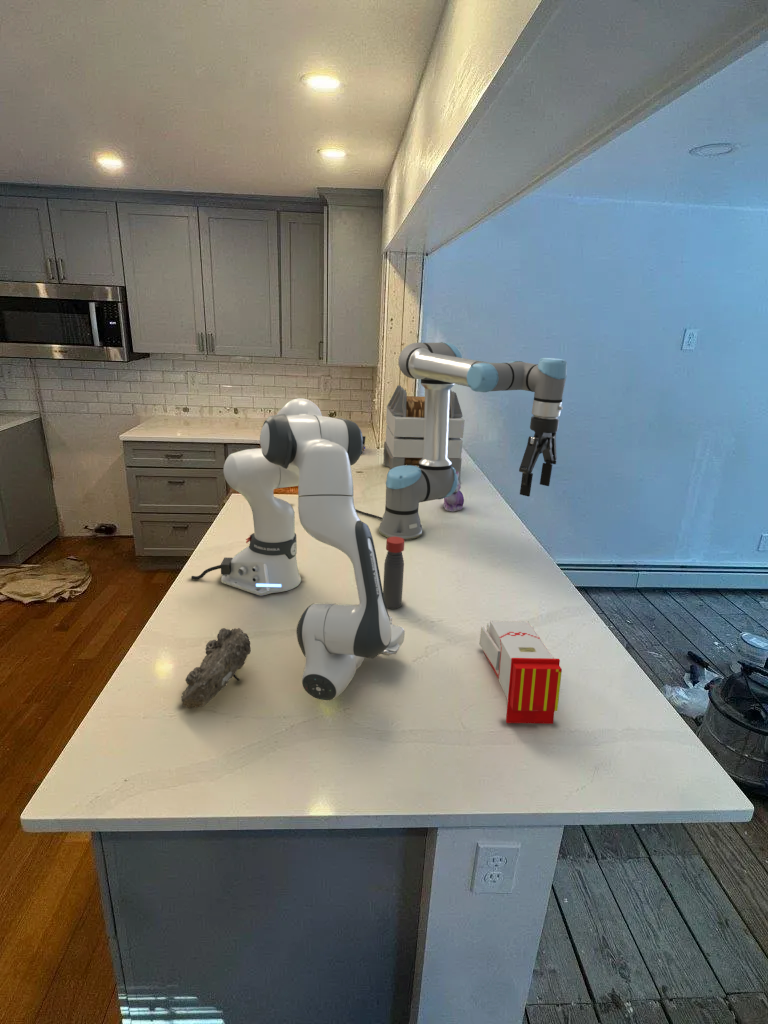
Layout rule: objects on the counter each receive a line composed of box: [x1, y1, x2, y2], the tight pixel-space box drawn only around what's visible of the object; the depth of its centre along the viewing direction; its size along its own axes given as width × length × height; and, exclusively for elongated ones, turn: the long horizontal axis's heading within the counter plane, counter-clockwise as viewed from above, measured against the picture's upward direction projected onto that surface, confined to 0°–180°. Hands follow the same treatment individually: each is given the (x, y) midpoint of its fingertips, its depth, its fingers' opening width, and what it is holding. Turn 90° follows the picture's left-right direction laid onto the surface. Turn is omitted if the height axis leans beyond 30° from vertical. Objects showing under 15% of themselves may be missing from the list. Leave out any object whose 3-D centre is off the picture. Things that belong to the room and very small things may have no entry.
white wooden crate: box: [383, 384, 465, 483], centre depth 268 cm, size 34×33×41 cm
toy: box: [478, 620, 563, 725], centre depth 121 cm, size 12×13×30 cm
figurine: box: [442, 471, 465, 512], centre depth 226 cm, size 9×10×15 cm
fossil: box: [180, 627, 252, 709], centre depth 117 cm, size 22×10×15 cm
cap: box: [385, 537, 405, 553], centre depth 146 cm, size 5×5×2 cm
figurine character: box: [361, 435, 367, 455], centre depth 309 cm, size 7×8×15 cm
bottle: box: [382, 551, 405, 610], centre depth 149 cm, size 5×5×18 cm
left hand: (370, 614), depth 135 cm, fingers open, 8 cm apart
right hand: (534, 490), depth 163 cm, fingers open, 13 cm apart
